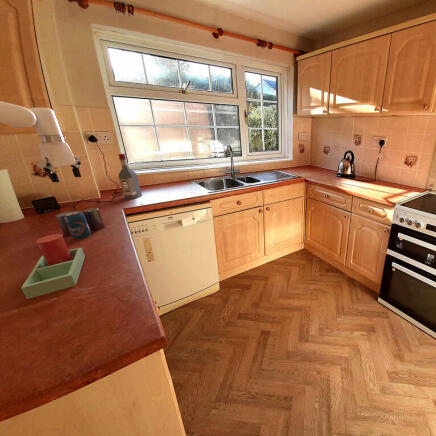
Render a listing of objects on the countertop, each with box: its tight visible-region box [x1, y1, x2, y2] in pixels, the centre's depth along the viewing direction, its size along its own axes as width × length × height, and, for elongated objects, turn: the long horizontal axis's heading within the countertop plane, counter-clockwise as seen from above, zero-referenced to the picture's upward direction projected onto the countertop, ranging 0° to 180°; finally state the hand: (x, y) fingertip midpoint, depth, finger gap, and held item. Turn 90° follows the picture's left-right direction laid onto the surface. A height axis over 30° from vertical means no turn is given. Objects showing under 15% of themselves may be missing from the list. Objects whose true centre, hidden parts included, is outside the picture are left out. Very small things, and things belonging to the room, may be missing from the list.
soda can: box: [65, 210, 92, 241], centre depth 111 cm, size 7×7×12 cm
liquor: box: [118, 153, 143, 200], centre depth 168 cm, size 9×9×30 cm
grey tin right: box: [82, 207, 106, 232], centre depth 121 cm, size 6×6×10 cm
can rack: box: [20, 247, 86, 300], centre depth 83 cm, size 12×22×5 cm, turn 32°
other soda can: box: [35, 233, 73, 266], centre depth 86 cm, size 7×7×12 cm
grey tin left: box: [55, 211, 72, 237], centre depth 116 cm, size 6×6×10 cm
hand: (67, 179), depth 109 cm, fingers open, 9 cm apart
